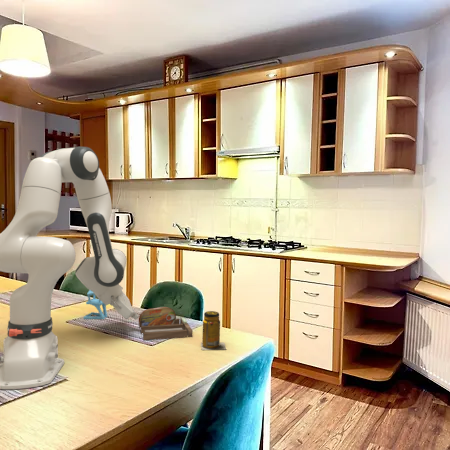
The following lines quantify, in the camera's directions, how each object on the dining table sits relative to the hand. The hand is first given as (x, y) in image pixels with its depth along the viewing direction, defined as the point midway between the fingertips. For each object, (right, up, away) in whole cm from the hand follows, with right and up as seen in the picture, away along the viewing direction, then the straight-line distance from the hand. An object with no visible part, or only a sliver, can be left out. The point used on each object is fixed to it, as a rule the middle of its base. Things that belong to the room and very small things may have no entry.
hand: (137, 317), depth 162 cm
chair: (-20, -4, +16) cm, 26 cm away
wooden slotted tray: (+10, -5, -1) cm, 11 cm away
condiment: (+30, -7, -15) cm, 34 cm away
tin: (+7, -5, +3) cm, 9 cm away
